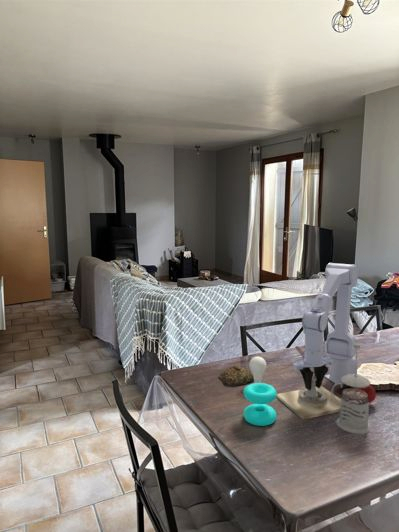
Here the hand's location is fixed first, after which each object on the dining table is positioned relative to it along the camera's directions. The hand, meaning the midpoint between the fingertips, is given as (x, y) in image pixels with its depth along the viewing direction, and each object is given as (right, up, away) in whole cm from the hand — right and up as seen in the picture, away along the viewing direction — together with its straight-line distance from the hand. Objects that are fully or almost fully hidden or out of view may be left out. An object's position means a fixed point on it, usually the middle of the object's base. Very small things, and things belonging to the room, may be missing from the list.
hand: (312, 387), depth 133 cm
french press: (+8, -7, -12) cm, 16 cm away
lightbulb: (-16, -4, +14) cm, 22 cm away
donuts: (-19, -7, -9) cm, 22 cm away
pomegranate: (+17, -5, -1) cm, 18 cm away
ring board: (0, -5, +1) cm, 5 cm away
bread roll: (-24, -3, +21) cm, 32 cm away
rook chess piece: (0, -4, +1) cm, 4 cm away
